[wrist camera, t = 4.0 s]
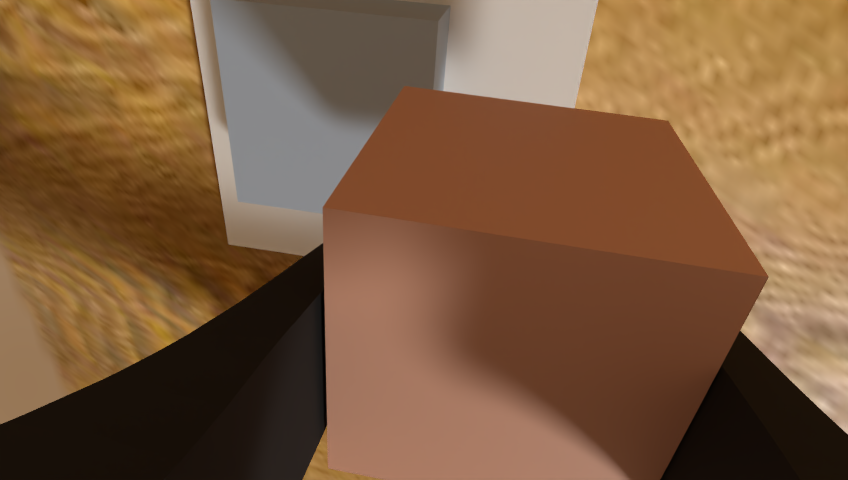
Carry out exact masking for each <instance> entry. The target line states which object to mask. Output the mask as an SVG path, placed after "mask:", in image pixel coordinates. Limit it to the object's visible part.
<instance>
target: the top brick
mask: <svg viewBox="0 0 848 480" xmlns="http://www.w3.org/2000/svg"><path fill="white" fill-rule="evenodd" d="M323 253H324V300H325V346H326V393H327V440H328V468H329V469H334V470H339V471H344V472H349V473H354V474H359V475H364V476H369V477H374V478H379V479H384V480H660V479H661V477H662V476H663V474H664V472H665V470H666V468H667V466H668V464H669V462H670V461H671V459H672V457H673V455H674V453H675V451H676V449H677V447H678V446H679V444H680V442H681V440H682V438H683V436H684V434H685V433H686V431H687V429H688V427H689V425H690V423H691V421H692V419H693V418H694V416H695V414H696V412H697V410H698V408H699V406H700V404H701V403H702V401H703V399H704V397H705V395H706V393H707V391H708V390H709V388H710V386H711V384H712V382H713V380H714V378H715V376H716V375H717V373H718V371H719V369H720V367H721V365H722V363H723V361H724V360H725V358H726V356H727V354H728V352H729V350H730V348H731V347H732V345H733V343H734V341H735V339H736V337H737V335H738V333H739V332H740V330H741V328H742V326H743V324H744V322H745V320H746V318H747V317H748V315H749V313H750V311H751V309H752V307H753V305H754V304H755V302H756V300H757V298H758V296H759V294H760V292H761V290H762V289H763V287H764V285H765V283H766V281H767V279H768V275H767V274H766V272H765V270H764V269H763V267H762V266H761V264H760V263H759V261H758V260H757V258H756V257H755V255H754V253H753V252H752V250H751V249H750V247H749V246H748V244H747V243H746V241H745V239H744V238H743V236H742V235H741V233H740V232H739V230H738V229H737V227H736V226H735V224H734V222H733V221H732V219H731V218H730V216H729V215H728V213H727V212H726V210H725V208H724V207H723V205H722V204H721V202H720V201H719V199H718V198H717V196H716V195H715V193H714V191H713V190H712V188H711V187H710V185H709V184H708V182H707V181H706V179H705V177H704V176H703V174H702V173H701V171H700V170H699V168H698V167H697V165H696V164H695V162H694V160H693V159H692V157H691V156H690V154H689V153H688V151H687V150H686V148H685V146H684V145H683V143H682V142H681V140H680V139H679V137H678V136H677V134H676V133H675V131H674V129H673V128H672V126H671V125H670V123H669V122H668V121H665V120H658V119H650V118H643V117H635V116H628V115H620V114H613V113H605V112H597V111H590V110H582V109H575V108H567V107H560V106H552V105H545V104H537V103H530V102H522V101H515V100H507V99H500V98H492V97H485V96H477V95H469V94H462V93H454V92H447V91H439V90H432V89H424V88H417V87H409V86H404V87H403V89H402V90H401V92H400V93H399V95H398V96H397V98H396V99H395V101H394V102H393V104H392V105H391V107H390V108H389V109H388V111H387V112H386V114H385V115H384V117H383V118H382V120H381V121H380V123H379V124H378V126H377V127H376V129H375V130H374V132H373V133H372V135H371V136H370V138H369V139H368V141H367V142H366V144H365V145H364V147H363V148H362V150H361V151H360V153H359V154H358V155H357V157H356V158H355V160H354V161H353V163H352V164H351V166H350V167H349V169H348V170H347V172H346V173H345V175H344V176H343V178H342V179H341V181H340V182H339V184H338V185H337V187H336V188H335V190H334V191H333V193H332V194H331V196H330V197H329V199H328V200H327V201H326V203H325V204H324V206H323Z"/></svg>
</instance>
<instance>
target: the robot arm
mask: <svg viewBox="0 0 848 480" xmlns="http://www.w3.org/2000/svg"><path fill="white" fill-rule="evenodd" d="M326 426H327V393H326V346H325V300H324V253H323V243H322V244H321V245H319V246H318V247H316V248H315V249H314V250H312V251H311V252H309V253H308V254H307V255H305V256H304V257H303V258H301V259H300V260H298V261H297V262H296V263H294V264H293V265H292V266H290V267H289V268H287V269H286V270H285V271H283V272H282V273H281V274H279V275H278V276H276V277H275V278H274V279H272V280H271V281H269V282H268V283H266V284H265V285H264V286H262V287H261V288H259V289H258V290H256V291H255V292H253V293H252V294H251V295H249V296H248V297H246V298H245V299H243V300H242V301H240V302H239V303H238V304H236V305H234V306H233V307H231V308H230V309H228V310H226V311H225V312H223V313H222V314H220V315H218V316H217V317H215V318H214V319H212V320H210V321H209V322H207V323H206V324H204V325H202V326H201V327H199V328H198V329H196V330H194V331H193V332H191V333H190V334H188V335H186V336H184V337H183V338H181V339H179V340H178V341H176V342H174V343H172V344H170V345H169V346H167V347H165V348H163V349H161V350H160V351H158V352H156V353H154V354H152V355H150V356H148V357H146V358H144V359H142V360H141V361H139V362H137V363H135V364H133V365H131V366H129V367H127V368H125V369H123V370H121V371H119V372H117V373H115V374H113V375H111V376H109V377H107V378H105V379H103V380H101V381H99V382H96V383H94V384H92V385H90V386H87V387H85V388H83V389H81V390H78V391H76V392H74V393H72V394H69V395H67V396H65V397H63V398H60V399H58V400H56V401H54V402H52V403H49V404H47V405H45V406H43V407H40V408H38V409H36V410H34V411H31V412H29V413H27V414H25V415H22V416H20V417H18V418H15V419H13V420H10V421H8V422H5V423H3V424H0V480H302V479H303V477H304V475H305V473H306V470H307V468H308V466H309V464H310V462H311V459H312V457H313V455H314V453H315V450H316V448H317V446H318V444H319V442H320V439H321V437H322V435H323V433H324V431H325V428H326ZM660 480H848V434H846V433H845V432H844V431H843V430H842V429H841V428H840V427H839V426H838V425H837V424H836V423H835V422H833V421H832V420H831V419H830V418H829V417H828V416H827V415H826V414H825V413H824V412H823V411H822V410H821V409H819V408H818V407H817V406H816V405H815V404H814V403H813V402H812V401H811V400H810V399H809V398H808V397H807V396H806V395H805V394H804V393H803V392H802V391H801V390H800V389H799V388H798V387H797V386H795V385H794V384H793V383H792V382H791V381H790V380H789V379H788V378H787V377H786V376H785V375H784V374H783V373H782V372H781V371H780V370H779V369H778V368H777V367H776V366H775V365H774V364H773V363H772V362H771V361H770V360H769V359H768V358H767V357H766V356H765V355H764V354H763V353H762V352H761V351H760V350H759V349H758V348H757V347H756V346H755V345H754V344H753V343H752V342H751V341H750V340H749V339H748V338H747V337H746V336H745V335H744V334H743V333H742V332H741V331H740V332H739V333H738V335H737V337H736V339H735V341H734V343H733V345H732V347H731V348H730V350H729V352H728V354H727V356H726V358H725V360H724V361H723V363H722V365H721V367H720V369H719V371H718V373H717V375H716V376H715V378H714V380H713V382H712V384H711V386H710V388H709V390H708V391H707V393H706V395H705V397H704V399H703V401H702V403H701V404H700V406H699V408H698V410H697V412H696V414H695V416H694V418H693V419H692V421H691V423H690V425H689V427H688V429H687V431H686V433H685V434H684V436H683V438H682V440H681V442H680V444H679V446H678V447H677V449H676V451H675V453H674V455H673V457H672V459H671V461H670V462H669V464H668V466H667V468H666V470H665V472H664V474H663V476H662V477H661V479H660Z"/></svg>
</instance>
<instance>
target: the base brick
mask: <svg viewBox="0 0 848 480" xmlns="http://www.w3.org/2000/svg"><path fill="white" fill-rule="evenodd" d="M210 4H211V11H212V18H213V25H214V33H215V40H216V47H217V54H218V61H219V69H220V76H221V83H222V90H223V98H224V105H225V112H226V119H227V126H228V134H229V141H230V148H231V155H232V163H233V170H234V177H235V184H236V191H237V199H238V202H244V203H251V204H258V205H265V206H272V207H279V208H286V209H293V210H300V211H307V212H314V213H321V214H323V206H324V204H325V203H326V201H327V200H328V199H329V197H330V196H331V194H332V193H333V191H334V190H335V188H336V187H337V185H338V184H339V182H340V181H341V179H342V178H343V176H344V175H345V173H346V172H347V170H348V169H349V167H350V166H351V164H352V163H353V161H354V160H355V158H356V157H357V155H358V154H359V153H360V151H361V150H362V148H363V147H364V145H365V144H366V142H367V141H368V139H369V138H370V136H371V135H372V133H373V132H374V130H375V129H376V127H377V126H378V124H379V123H380V121H381V120H382V118H383V117H384V115H385V114H386V112H387V111H388V109H389V108H390V107H391V105H392V104H393V102H394V101H395V99H396V98H397V96H398V95H399V93H400V92H401V90H402V89H403V87H404V86H409V87H417V88H424V89H432V90H439V91H443V90H444V78H445V67H446V55H447V43H448V31H449V19H450V7H451V6H449V5H439V4H429V3H419V2H409V1H399V0H210Z"/></svg>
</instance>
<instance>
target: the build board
mask: <svg viewBox="0 0 848 480" xmlns="http://www.w3.org/2000/svg"><path fill="white" fill-rule="evenodd" d="M399 1H409V2H419V3H429V4H439V5H449V6H451V7H450V19H449V31H448V43H447V55H446V67H445V78H444V90H443V91H447V92H454V93H462V94H469V95H477V96H485V97H492V98H500V99H507V100H515V101H522V102H530V103H537V104H545V105H552V106H560V107H567V108H575V103H576V98H577V94H578V89H579V85H580V80H581V76H582V71H583V67H584V62H585V58H586V53H587V49H588V44H589V40H590V35H591V30H592V26H593V21H594V17H595V12H596V8H597V3H598V0H399ZM190 3H191V9H192V16H193V22H194V28H195V35H196V41H197V47H198V54H199V60H200V67H201V73H202V79H203V86H204V92H205V98H206V105H207V111H208V118H209V124H210V130H211V137H212V143H213V149H214V156H215V162H216V169H217V175H218V181H219V188H220V194H221V200H222V207H223V213H224V219H225V226H226V232H227V239H228V244H229V245H235V246H242V247H248V248H255V249H262V250H268V251H275V252H281V253H288V254H294V255H301V256H305V255H307V254H308V253H309V252H311V251H312V250H314V249H315V248H316V247H318V246H319V245H321V244H322V243H323V214H321V213H314V212H307V211H300V210H293V209H286V208H279V207H272V206H265V205H258V204H251V203H244V202H238V199H237V191H236V184H235V177H234V170H233V163H232V155H231V148H230V141H229V134H228V126H227V119H226V112H225V105H224V98H223V90H222V83H221V76H220V69H219V61H218V54H217V47H216V40H215V33H214V25H213V18H212V11H211V4H210V0H190Z"/></svg>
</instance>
